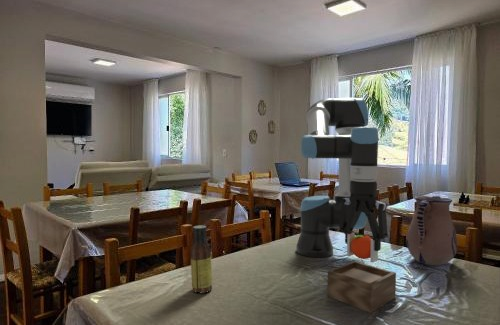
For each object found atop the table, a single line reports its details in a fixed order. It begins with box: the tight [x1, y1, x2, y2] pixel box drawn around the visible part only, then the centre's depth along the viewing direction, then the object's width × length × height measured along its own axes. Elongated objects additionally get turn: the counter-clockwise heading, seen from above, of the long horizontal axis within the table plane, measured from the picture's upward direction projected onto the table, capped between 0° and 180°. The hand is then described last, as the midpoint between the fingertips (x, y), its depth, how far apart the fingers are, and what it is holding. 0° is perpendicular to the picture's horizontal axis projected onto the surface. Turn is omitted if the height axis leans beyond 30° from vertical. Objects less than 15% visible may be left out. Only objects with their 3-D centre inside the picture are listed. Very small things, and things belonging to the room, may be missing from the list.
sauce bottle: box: [190, 224, 213, 293], centre depth 107 cm, size 7×6×20 cm
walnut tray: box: [326, 260, 397, 314], centre depth 103 cm, size 14×14×8 cm
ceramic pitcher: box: [405, 195, 459, 266], centre depth 132 cm, size 18×21×25 cm
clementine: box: [349, 234, 372, 260], centre depth 102 cm, size 8×7×7 cm
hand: (362, 257), depth 102 cm, fingers closed on clementine, 7 cm apart
